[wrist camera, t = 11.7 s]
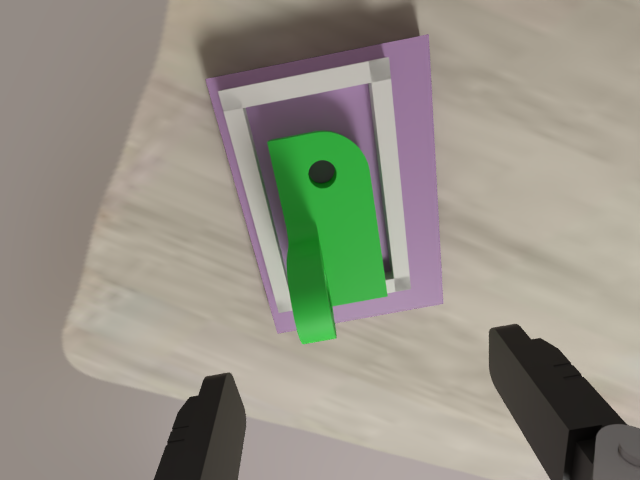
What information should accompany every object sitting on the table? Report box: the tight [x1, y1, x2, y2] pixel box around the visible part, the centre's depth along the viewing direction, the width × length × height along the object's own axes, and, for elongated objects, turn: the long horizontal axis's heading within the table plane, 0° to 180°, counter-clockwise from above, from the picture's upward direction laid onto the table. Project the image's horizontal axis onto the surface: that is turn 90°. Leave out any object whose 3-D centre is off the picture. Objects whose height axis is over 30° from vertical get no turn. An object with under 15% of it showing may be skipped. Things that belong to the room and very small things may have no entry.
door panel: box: [205, 34, 443, 333], centre depth 28 cm, size 14×20×3 cm
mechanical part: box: [267, 131, 388, 344], centre depth 24 cm, size 12×6×8 cm, turn 10°
